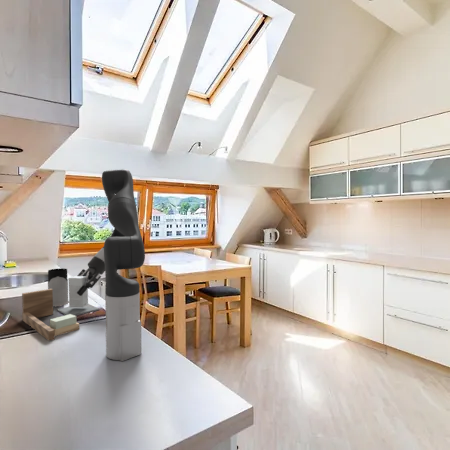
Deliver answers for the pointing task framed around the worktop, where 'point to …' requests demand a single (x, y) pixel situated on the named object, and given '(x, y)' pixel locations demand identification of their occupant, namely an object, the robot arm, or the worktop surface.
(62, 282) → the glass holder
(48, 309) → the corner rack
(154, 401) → the worktop surface
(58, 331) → the offcut bottom
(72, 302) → the skincare box
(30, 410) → the worktop surface
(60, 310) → the rubber mat
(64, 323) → the offcut top
